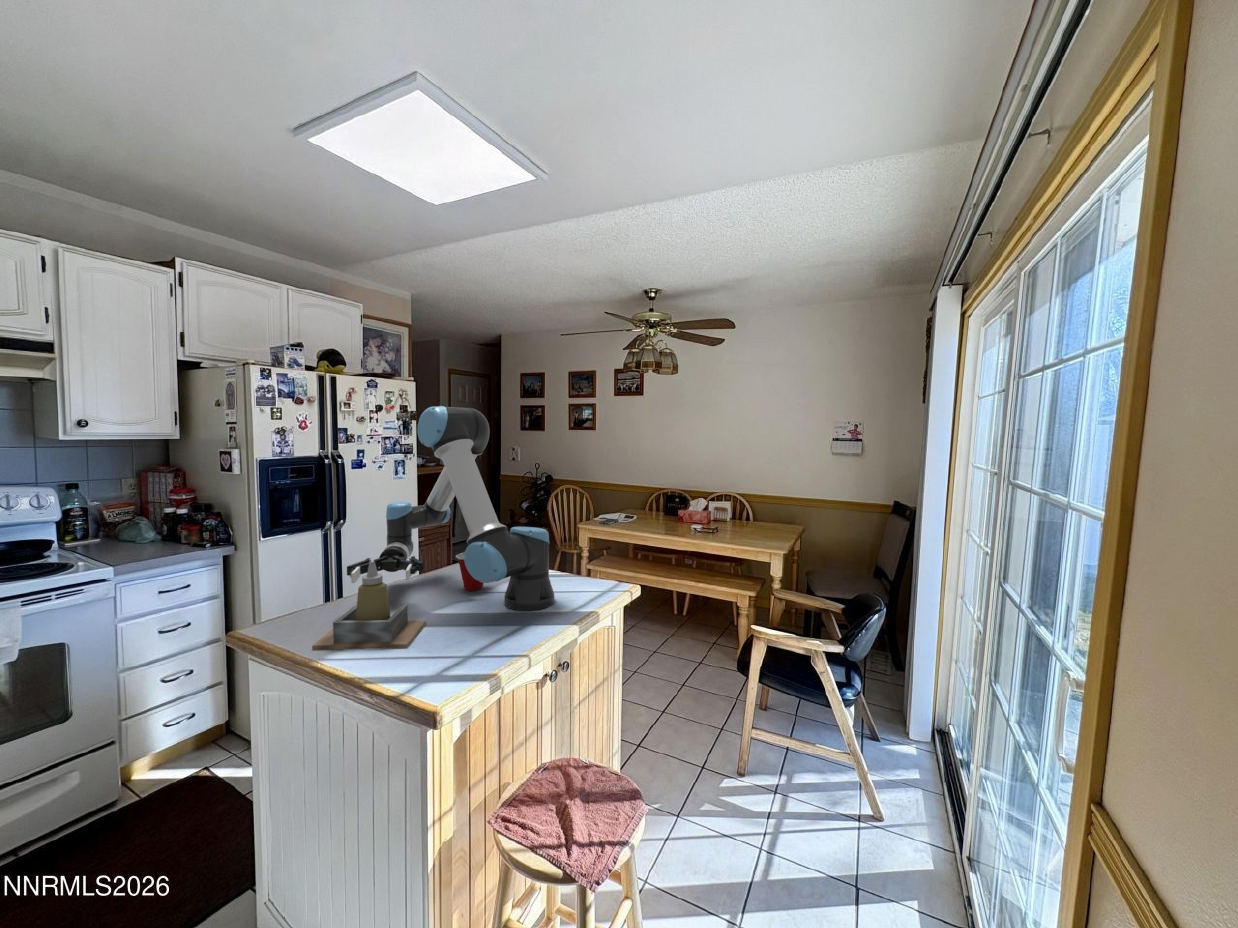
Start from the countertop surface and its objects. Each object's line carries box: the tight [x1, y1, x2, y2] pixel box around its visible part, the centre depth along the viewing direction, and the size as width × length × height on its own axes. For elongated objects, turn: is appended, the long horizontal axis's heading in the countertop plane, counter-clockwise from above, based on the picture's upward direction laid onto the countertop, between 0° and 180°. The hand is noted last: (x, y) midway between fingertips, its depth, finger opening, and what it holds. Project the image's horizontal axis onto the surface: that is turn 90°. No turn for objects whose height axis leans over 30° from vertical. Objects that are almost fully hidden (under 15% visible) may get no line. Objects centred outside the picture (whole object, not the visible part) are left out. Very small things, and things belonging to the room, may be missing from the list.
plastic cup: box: [455, 551, 484, 592], centre depth 168 cm, size 11×11×12 cm
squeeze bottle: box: [355, 560, 391, 621], centre depth 129 cm, size 8×8×18 cm
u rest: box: [311, 604, 427, 650], centre depth 129 cm, size 22×15×6 cm
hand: (380, 576), depth 138 cm, fingers open, 13 cm apart
